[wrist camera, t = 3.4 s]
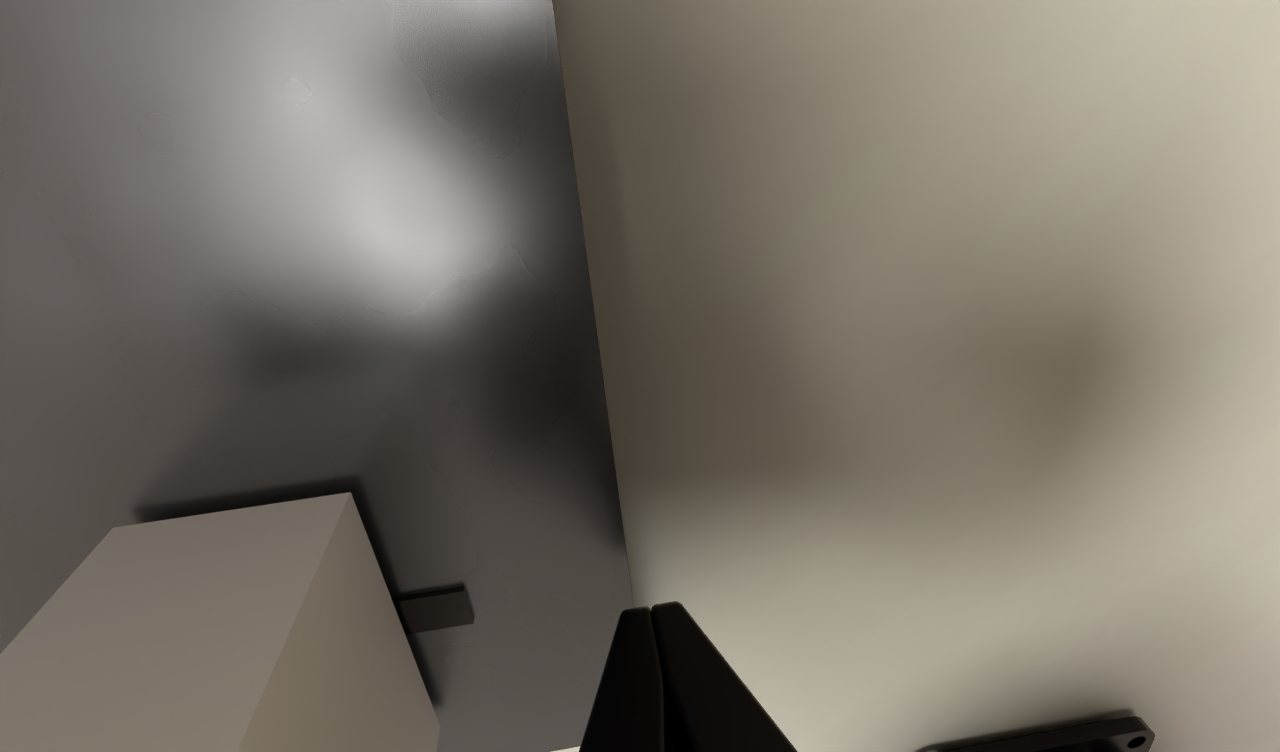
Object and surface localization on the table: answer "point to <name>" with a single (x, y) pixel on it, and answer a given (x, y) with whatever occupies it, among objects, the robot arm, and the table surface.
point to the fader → (220, 643)
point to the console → (316, 317)
